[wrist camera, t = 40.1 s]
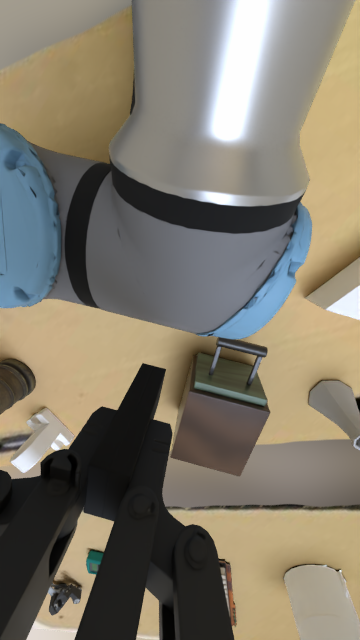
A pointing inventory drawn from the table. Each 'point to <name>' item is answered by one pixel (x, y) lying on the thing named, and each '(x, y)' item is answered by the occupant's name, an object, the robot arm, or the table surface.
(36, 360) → the table surface
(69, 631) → the table surface
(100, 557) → the digital multimeter
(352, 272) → the triangle block
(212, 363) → the drawer
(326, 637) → the white piece
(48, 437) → the cable organizer
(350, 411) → the flask
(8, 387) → the container
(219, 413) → the cabinet
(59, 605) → the bicycle component
